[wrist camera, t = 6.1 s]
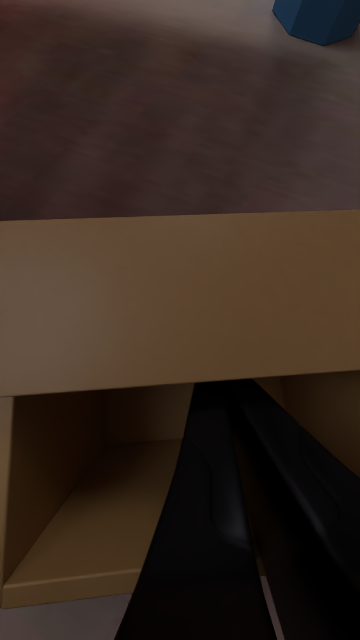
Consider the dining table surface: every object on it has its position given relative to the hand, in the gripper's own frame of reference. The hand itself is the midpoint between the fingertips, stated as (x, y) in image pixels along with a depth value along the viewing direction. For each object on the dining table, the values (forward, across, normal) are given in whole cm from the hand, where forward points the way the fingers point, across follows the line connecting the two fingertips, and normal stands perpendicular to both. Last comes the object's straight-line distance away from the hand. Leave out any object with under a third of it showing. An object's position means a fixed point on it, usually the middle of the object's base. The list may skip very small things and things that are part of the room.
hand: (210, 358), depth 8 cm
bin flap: (0, 0, -3) cm, 3 cm away
